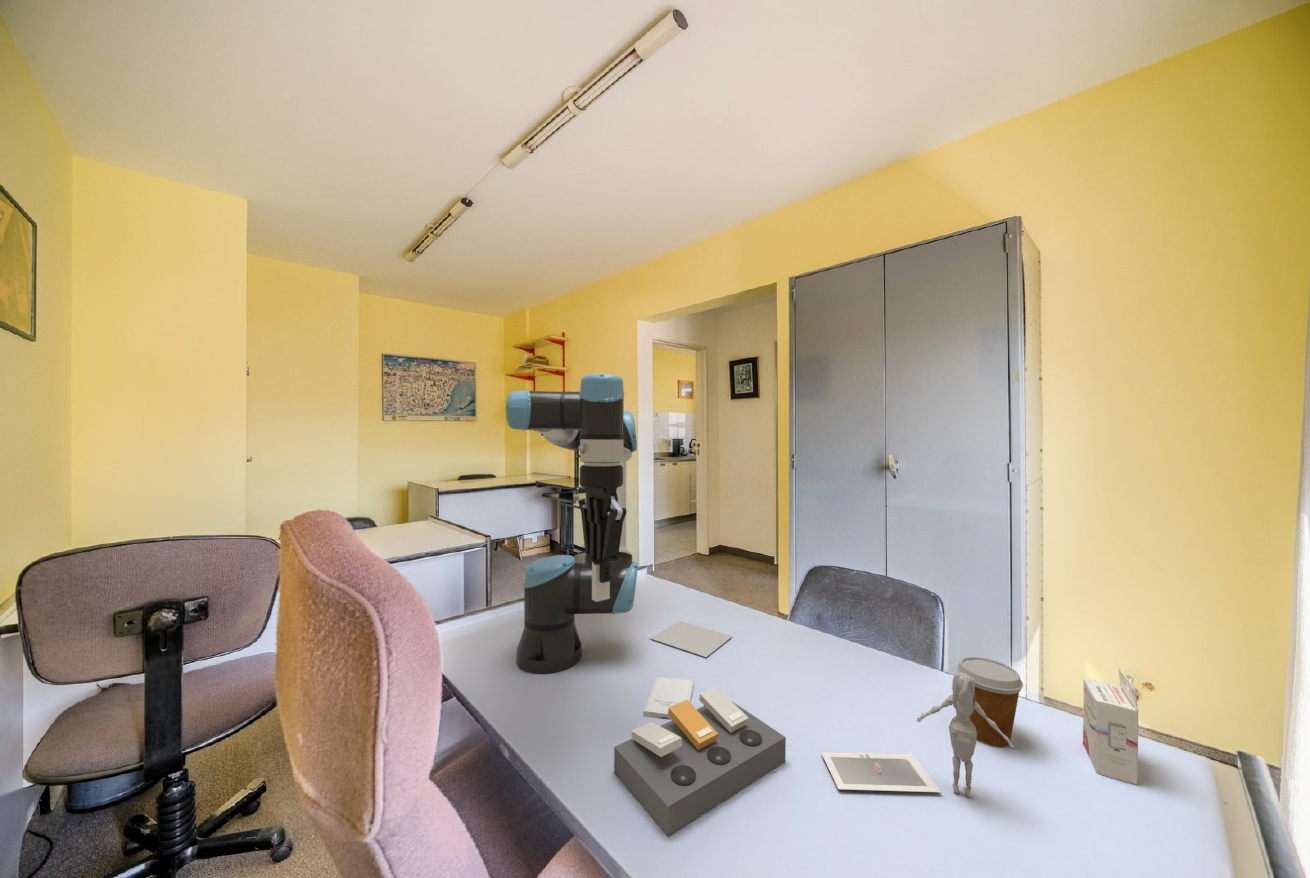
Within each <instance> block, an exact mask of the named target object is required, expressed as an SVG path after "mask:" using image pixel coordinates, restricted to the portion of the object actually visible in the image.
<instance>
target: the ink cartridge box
mask: <svg viewBox="0 0 1310 878" xmlns="http://www.w3.org/2000/svg"><path fill="white" fill-rule="evenodd" d="M1118 677H1119V678H1118V679H1119V684H1116V683H1111V682H1106V681H1102V680H1097V679H1092V678H1089V677H1083V708H1082V710H1083V712H1082V714H1083V715H1082V717H1083V719H1082V720H1083V722H1082V723H1083V725H1082V744H1083V746H1084V748H1085V751H1086V753H1087V755H1088V757H1089V760H1090V762H1091V764H1092V766H1093V768H1094V772H1095V774H1097V775H1101V776H1105V777H1108V778H1111V777H1112V778H1111V779H1115V780H1118V779H1119V780H1118V781H1122V782H1126V783H1129V782H1130V783H1129V784H1132V783H1133V785H1137V786H1138V784H1139V783H1138V782H1139V779H1138V778H1139V774H1138V773H1139V707H1138V706H1139V705H1138V699H1137V690H1136V688H1135V687H1134V685H1133V684H1132V682H1131V681H1130V679H1128V676H1126V674H1125V673H1124V672H1123V670H1122V669H1121V668H1120V667H1119V668H1118Z"/></svg>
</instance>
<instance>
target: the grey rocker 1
mask: <svg viewBox="0 0 1310 878" xmlns="http://www.w3.org/2000/svg"><path fill="white" fill-rule="evenodd" d="M631 739H633V740H635V741H636V742H638V743H639V744H641V745H643V746H644V747H646V748H647V749H649V750H651V751H652V752H654V753H655V754H657V755H659V756H660V757H662V756H664V755H666V754H668V753H670V752H672V751H674V750H676V749H678V748H680V747H682V738H681V737H679V736H677V735H676V734H674V733H672V732H670V731H668V730H666V729H664V728H662V727H661V725H658V724H657V723H655V722H653V721H651V722H648V723H645V724H644V725H641V726H638V727H637V728H635V729H633V730H631Z"/></svg>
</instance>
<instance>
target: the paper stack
mask: <svg viewBox="0 0 1310 878" xmlns="http://www.w3.org/2000/svg"><path fill="white" fill-rule="evenodd" d="M731 638H733V635H729V634H727V633H726V634H725V633H722V632H719V631H715V630H713V629H709V628H705V627H702V626H698V625H695V624H691V623H689V622H686V621H682V620H678V621H676V622H675V623H673V624H671V625H669V626H668V627H666V628H665V629H663V630H661V631H660V632H658V633H656V634H654V635H653V636H651V637H650V638H649V639H650V640H653V641H656V642H660V643H663V644H666V645H669V646H672V647H675V648H677V649H679V650H683V651H687V652H689V653H692V654H696V655H698V656H701V657H704V658H707V657H709V656H710V655H711V654H713V653H714V652H715V651H716V650H717V649H719V648H720V647H722V645H724V644H725V643H727V641H729V640H730V639H731Z"/></svg>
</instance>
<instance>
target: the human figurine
mask: <svg viewBox="0 0 1310 878" xmlns="http://www.w3.org/2000/svg"><path fill="white" fill-rule="evenodd" d="M951 682H952V683H951V684H952V686H951V687H952V688H951V690H952V694H951V695H949V696H948V697H946V698H945V700H944V701H942V703H941V705H936V706H932V708H931V709H930V710H928V711H927V712H926V713H921V715H920V716H919V717H917V718H916V720H915V721H916V722H917V723H920V722H921V721H922V720H923V719H925V718H926V717H928V716H930V715H933V714H936V713H939V712H940V711H941V710H942V709H943V708H947V707H949V706H953V708H954V709H955V714H956V715H954V717H952V719H951V720H950V722H949V725H948V731H949V737H950V744H951V748H952V751H953V755H952V759H951V760H952V766H953V772H952V775H953V782H954V783H952V788H953V792H954V793H955V794H960V788H959V780H960V777H961V776H960V770H961V764H962V762H963V763H964V769H965V786H964V787H963V790H964V791H963V792H964V796H966V797H967V798H971V795H972V794H971V792H972V791H971V790H972V786H971V785H972V779H973V778H972V777H973V776H972V772H973V768H974V766H973V765H974V764H973V762H972V757H973V756H974V754H975V749H976V747H977V746H976V745H977V741H978V740H977V737H978V734H977V731H976V728H975V726H974V724H973V723H972V722H971V720H970V718H969V717H970V715H971V713H972V712H973V711H974V709H975V710H976V711H977V712H978V713H979V714H980V715H981V716H982V717H984V718H985V719H986V720H987V722H988V723H989V725H990V726H991V727H993V728H994V729H995V730H996V731H997V732H998V733H1000V734H1001V735H1002V736H1003V737H1004V738H1005V740H1006V741H1007V742H1008V743H1009V745H1008V746H1010V747H1011V748H1012V749H1014V748H1015V746H1014V744H1013V743H1012V742H1011V741H1010V740H1009V738H1008V737H1007V736H1006V735H1004V734H1003V733H1002V732H1001V731H1000V730H999V729H998V727H997V725H996V723H995V722H994V721H992V720H990V719H989V718H987V716H986V714H985V712H984V711H983V710H982V709H981V707H980V705H979V704H978V703H977V702H976V701H975V694H974V691H975V679H973V678H971V677H970V676H969V675H967V674H966V673H962V672H958V671H957V673H955V674H953V678H952V681H951Z"/></svg>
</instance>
